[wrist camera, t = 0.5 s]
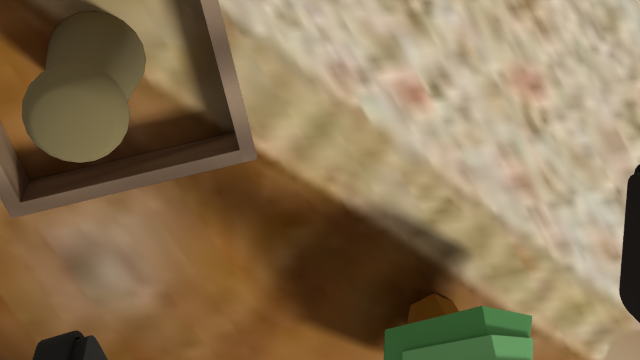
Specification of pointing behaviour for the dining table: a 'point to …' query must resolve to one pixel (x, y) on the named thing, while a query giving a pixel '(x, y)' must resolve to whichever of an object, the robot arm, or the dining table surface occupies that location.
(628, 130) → the dining table surface
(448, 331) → the decorative tree
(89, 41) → the cork
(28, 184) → the walnut corral
